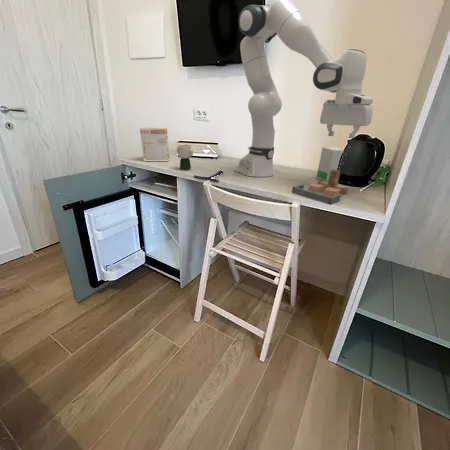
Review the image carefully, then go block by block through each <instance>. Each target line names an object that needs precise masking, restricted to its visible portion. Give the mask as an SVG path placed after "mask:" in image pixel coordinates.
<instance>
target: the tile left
mask: <svg viewBox="0 0 450 450" xmlns="http://www.w3.org/2000/svg"><path fill="white" fill-rule="evenodd" d="M308 191H311V192H315V193H318V194H321V193H324V185H320V184H317V183H312V184H309V186H308Z"/></svg>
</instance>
